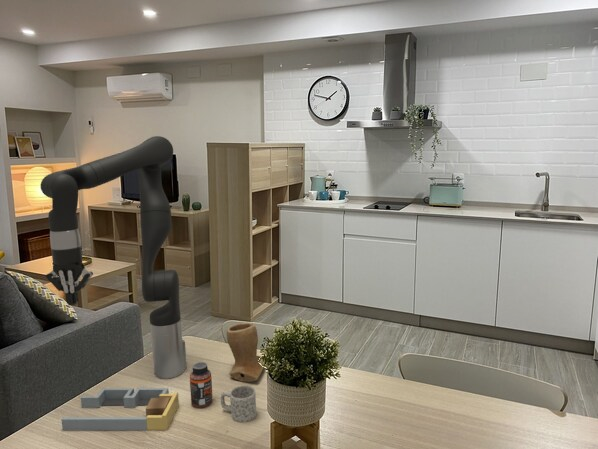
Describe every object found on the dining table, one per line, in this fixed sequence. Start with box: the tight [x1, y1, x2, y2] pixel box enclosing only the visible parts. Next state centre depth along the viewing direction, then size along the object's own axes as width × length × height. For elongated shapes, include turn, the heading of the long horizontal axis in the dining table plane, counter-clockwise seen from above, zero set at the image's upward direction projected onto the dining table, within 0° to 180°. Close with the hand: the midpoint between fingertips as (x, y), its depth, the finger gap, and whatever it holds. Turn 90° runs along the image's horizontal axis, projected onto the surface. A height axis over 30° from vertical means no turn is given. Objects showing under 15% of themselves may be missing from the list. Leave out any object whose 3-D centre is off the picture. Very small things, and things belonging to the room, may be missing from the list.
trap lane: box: [61, 387, 170, 431], centre depth 126 cm, size 23×15×3 cm, turn 88°
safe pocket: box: [145, 391, 180, 431], centre depth 123 cm, size 5×11×4 cm, turn 178°
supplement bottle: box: [189, 361, 214, 409], centre depth 129 cm, size 6×6×11 cm
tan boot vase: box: [226, 322, 265, 383], centre depth 146 cm, size 15×12×15 cm
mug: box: [220, 385, 257, 423], centre depth 124 cm, size 10×7×7 cm, turn 71°
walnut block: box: [145, 397, 170, 417], centre depth 123 cm, size 5×5×4 cm
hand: (73, 304), depth 132 cm, fingers closed
